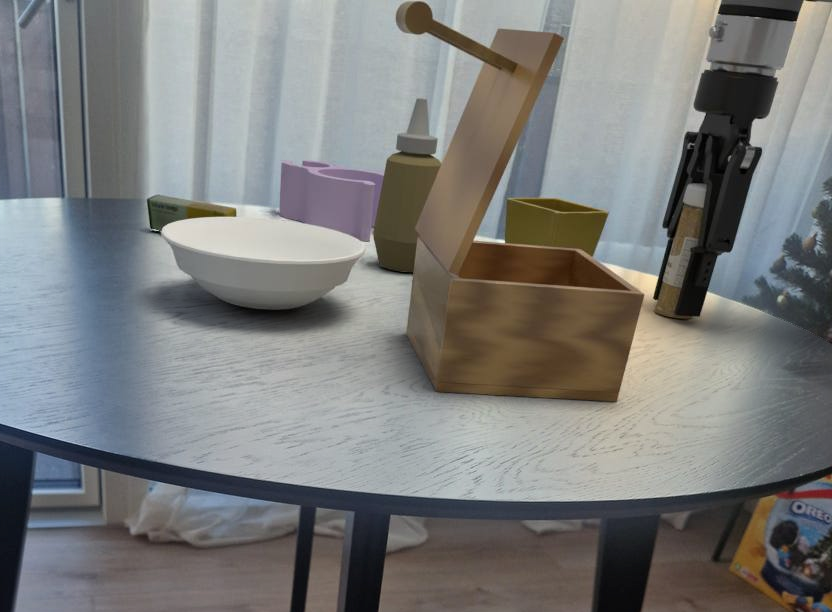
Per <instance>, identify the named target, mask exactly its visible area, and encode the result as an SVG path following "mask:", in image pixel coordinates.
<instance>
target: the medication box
mask: <svg viewBox="0 0 832 612" xmlns="http://www.w3.org/2000/svg"><path fill="white" fill-rule="evenodd" d="M146 204H147V205H146V206H147V213H148V222H149V229H150V228H151V229H156V230H159V231H162V229H163V227H164V226H166V225H167V224H169V223H173V222H176V221H180V220H185V219H193V218H203V217H238V216H237V208H236V207H231V206H226V205H219V204H215V203H208V202H202V201H197V200H191V199H186V198H185V199H184V198H179V197H175V196H174V197H173V196H168V195H162V194H155V195H151V196H150V197H148V198H146Z"/></svg>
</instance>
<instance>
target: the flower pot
mask: <svg viewBox="0 0 832 612" xmlns="http://www.w3.org/2000/svg"><path fill="white" fill-rule="evenodd" d="M609 214H610V211H609V210H604V209H601V208H597V207H593V206H588V205H584V204H580V203H578V202H573V201H570V200H565V199H561V198H558V197H507V198H506V208H505V227H504V230H505V231H504V243H510V244H523V245H535V246H548V247H560V248H573V249H581V250H583V251H584V252H586V253H587V254H588V255H590V256H591V257H593V256H594V254H595V252H596V250H597V247H598V244H599V242H600V239H601V236H602V234H603V232H604V228H605V225H606V222H607V219H608V217H609ZM593 258H594V257H593Z"/></svg>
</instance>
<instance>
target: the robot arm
mask: <svg viewBox="0 0 832 612" xmlns="http://www.w3.org/2000/svg"><path fill="white" fill-rule="evenodd" d="M804 2H811V3H818V2H821V3H832V0H721V1H720V5H719V8H718V11H717V15H716V18H715V23H714V26H711V27H710V28H709V31H708V36H709V38H710V42H709V44H708V45H709V46H708V49H707V53H706V56H705V60H706V62H707V63H710V65H709V69H704V70H703V72H701V74H700V78H699V82H698V86H697V89H696V92H695V97H694V101H693V109H694V110H695V111H696V112H699V113H704V114H705V115H704V117H703V120H702V122H701V124H700V126H699V129H698V131H686V132H685V133H684V137H683V143H682V149H681V156H680V159H679V163H678V167H677V171H676V173H675V177H674V181H673V185H672V188H671V191H670V194H669V195H670V196H669V199H668V202H667V205H666V210H665V213H664V217H663V220H662V223H661V226H662V229H664V230H666V237H667V238H668V239H667V242H666V243H667V244H666V247H665V251H664V254H663V257H662V262H661V265H660V269H659V272H658V276H657V277H658V278H657V282H656V285H655V289H654V292H653V296H652V299H653V300H654V301H658V297H659V294H660V290H661V287H662V283H663V277H664V273H665V270H666V266H667V263H668V259H669V255H670V252H671V248H672V244H673V241H674V238H675V235H676V231H677V228H678V224H679V221H680V217H681V213H682V210H683V205H684V204H685V203H684V202H683V199H684V195H685V192H686V188H687V186H688V185H689V184H692V183H701V184H706V185H707V187H706V194H705V200H704V207H703V213H702V219H701V226H700V232H699V239H698V245H697V247H692V248H690V252H691V255H690V259H689V262H688V266H687V269H686V273H685V277H684V280H683V284H682V287H681V291H680V295H679V298H678V302H677V305H676V309H675V312H674V314H676V315H679V316H693V317H692V318H700V317H701V313H702V311H703V307H704V304H705V301H706V297H707V293H708V291H709V288H710V283H711V280H712V277H713V274H714V271H715V267H716V263H717V260H718V257H719V256H722V255H723V254H724V253H728V254H729V253H731V252H732V251H733V248H734V245H735V241H736V239H737V234H738V231H739V227H740V224H741V220H742V216H743V212H744V209H745V205H746V202H747V198H748V195H749V191H750V188H751V185H752V184H751V183H752V181H753V176H754V174H755V171H756V169H757V166H758V165H759V162H760V160H761V158H762V155H763V148H762V147H761V146H753V145H752V144H751V143H750V142H751V139H752V129H753V122H754V121H755V120H763V119H766V118H767V117H769V115H770V112H771V109H772V106H773V103H774V99H775V96H776V92H777V90H778V86H779V82H780V81H779V80H778V77H775V76H776V72H777V71H781V70H782V69H783V68H784V66H785V64H786V60H787V57H788V54H789V50H790V46H791V44H792V40H793V37H794V34H795V30H796V26H797V24H798V23H797V22H798V19H799V15H800V12H801V9H802V7H803V4H804Z"/></svg>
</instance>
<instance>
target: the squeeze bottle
mask: <svg viewBox="0 0 832 612" xmlns="http://www.w3.org/2000/svg"><path fill="white" fill-rule="evenodd" d="M395 144H396V145H395V150H397V151H398V152H395V153H392V154H391V155H390V156H388V157H387V158H386V161H385V162H386V163H385V167H384V173H383V174H384V177H383V183H382V188H381V193H380V198H379V204H378V209H377V214H376V220H375V225H374V227H373V230H372V235H373V241H374V247H375V251H376V257H377V262H378V265H379V266H381V267H383V268H385V269H388V270H391V271H394V272H399V273H414V264H415V256H416V248H417V240H418V236H420V235H419V233H418V232H417V231H416V230H415V227H416V225H417V222H418V220H419V217H420V215H421V213H422V210H423V208H424V205H425V203H426V200H427V198H428V196H429V193H430V191H431V188H432V186H433V184H434V181H435V179H436V176H437V174H438V172H439V169H440V167H441V164H442V162H441V161H440V159H438V158H437V157H435V156H434V155H435V154H437V147H438V137H436V136H433V135H430V123H429V109H428V99H427V98H418V97H417V98H416V100H415V103H414V106H413V110H412V113H411V117H410V120H409V123H408V127H407V130H406V131H405V132H399V133H397V136H396V143H395Z"/></svg>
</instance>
